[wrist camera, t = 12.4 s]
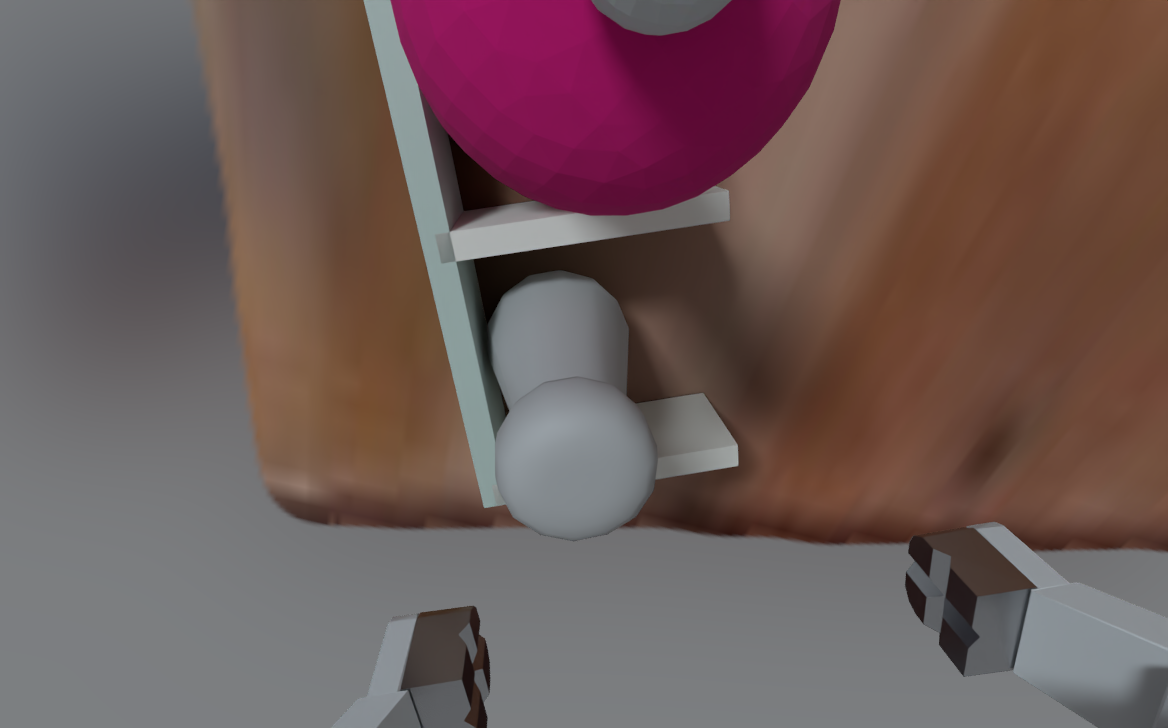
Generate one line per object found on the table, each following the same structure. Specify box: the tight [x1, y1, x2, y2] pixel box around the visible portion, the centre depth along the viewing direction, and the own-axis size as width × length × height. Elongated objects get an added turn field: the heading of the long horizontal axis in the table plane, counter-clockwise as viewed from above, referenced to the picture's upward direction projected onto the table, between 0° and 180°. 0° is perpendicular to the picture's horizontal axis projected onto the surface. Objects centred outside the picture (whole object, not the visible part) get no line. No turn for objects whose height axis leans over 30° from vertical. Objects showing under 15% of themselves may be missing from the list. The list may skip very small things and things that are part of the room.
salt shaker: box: [488, 270, 658, 541], centre depth 21 cm, size 6×6×13 cm
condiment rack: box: [364, 0, 738, 508], centre depth 22 cm, size 10×21×5 cm, turn 7°
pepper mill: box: [390, 0, 841, 216], centre depth 14 cm, size 7×7×20 cm
